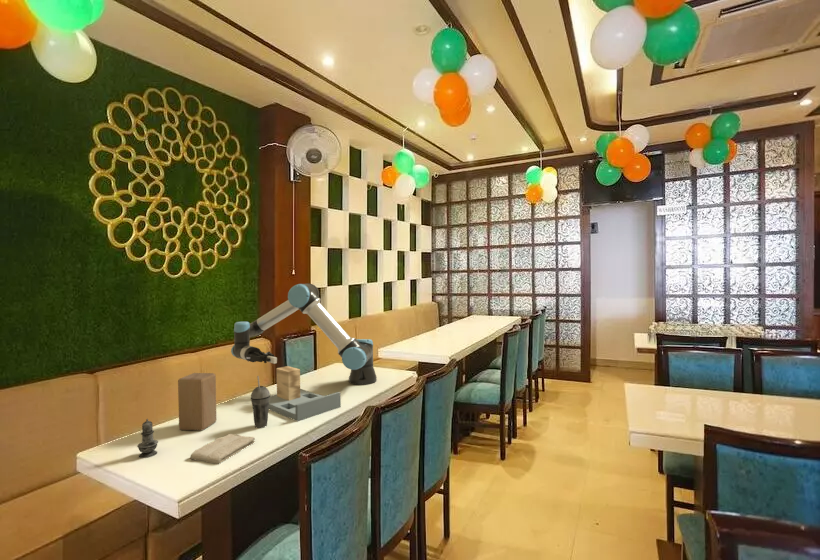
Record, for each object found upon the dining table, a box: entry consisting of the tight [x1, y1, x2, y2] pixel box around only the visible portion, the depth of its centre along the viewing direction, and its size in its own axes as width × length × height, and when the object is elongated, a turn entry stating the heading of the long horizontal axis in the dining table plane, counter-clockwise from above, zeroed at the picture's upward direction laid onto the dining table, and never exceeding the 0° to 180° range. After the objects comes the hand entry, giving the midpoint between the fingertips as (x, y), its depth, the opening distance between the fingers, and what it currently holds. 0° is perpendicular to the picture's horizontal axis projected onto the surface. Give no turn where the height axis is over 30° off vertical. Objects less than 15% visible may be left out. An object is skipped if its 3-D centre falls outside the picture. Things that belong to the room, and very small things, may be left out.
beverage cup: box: [250, 375, 271, 429], centre depth 158 cm, size 7×7×20 cm
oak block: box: [275, 365, 301, 400], centre depth 187 cm, size 6×10×13 cm, turn 49°
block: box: [177, 372, 218, 431], centre depth 159 cm, size 10×10×20 cm
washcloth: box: [189, 433, 256, 465], centre depth 137 cm, size 12×18×3 cm, turn 162°
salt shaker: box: [136, 418, 159, 459], centre depth 135 cm, size 6×6×12 cm
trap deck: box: [268, 388, 342, 422], centre depth 182 cm, size 22×32×6 cm
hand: (275, 360), depth 194 cm, fingers closed
